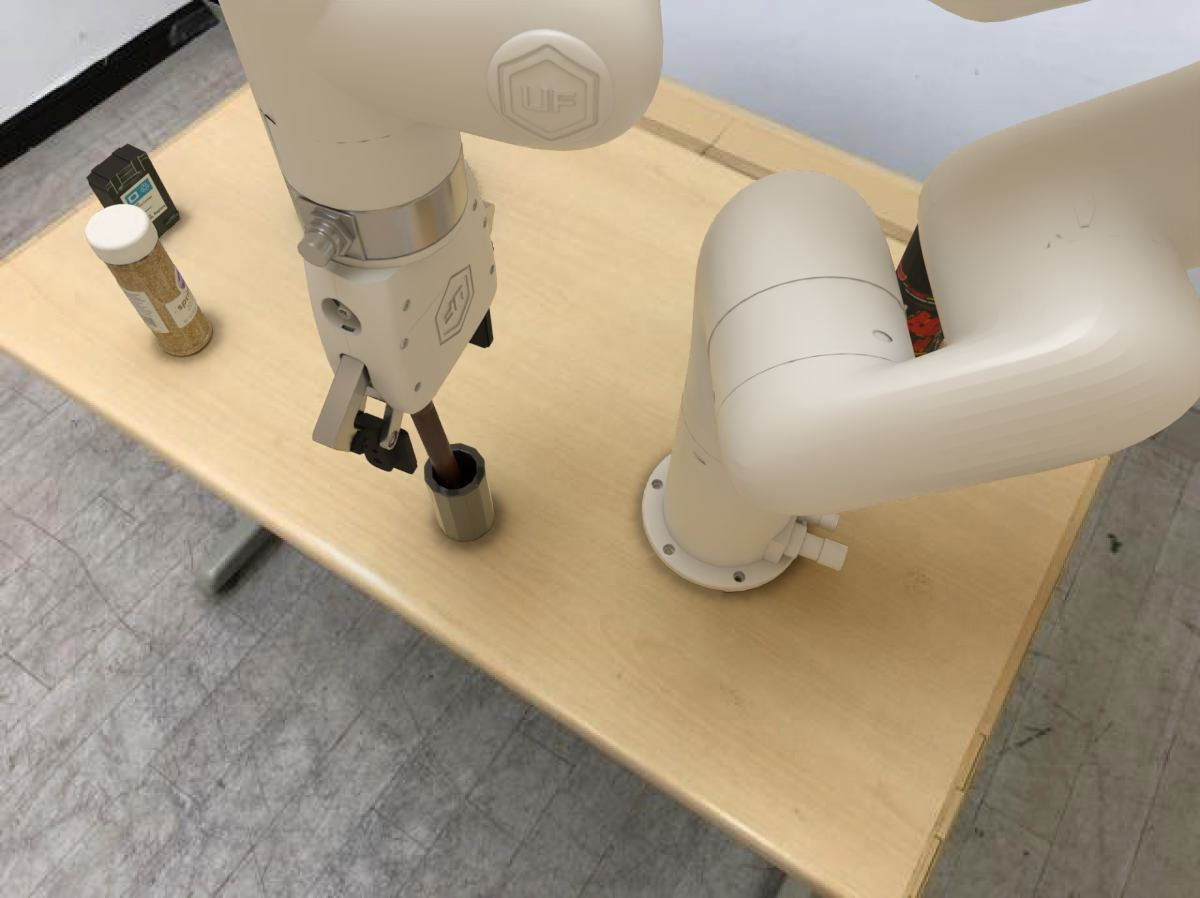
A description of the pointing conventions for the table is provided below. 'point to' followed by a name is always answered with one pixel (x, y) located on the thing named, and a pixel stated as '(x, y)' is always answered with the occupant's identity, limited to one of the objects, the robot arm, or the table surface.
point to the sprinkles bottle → (148, 277)
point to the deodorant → (918, 299)
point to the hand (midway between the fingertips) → (432, 397)
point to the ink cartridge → (133, 186)
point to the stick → (438, 447)
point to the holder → (462, 496)
